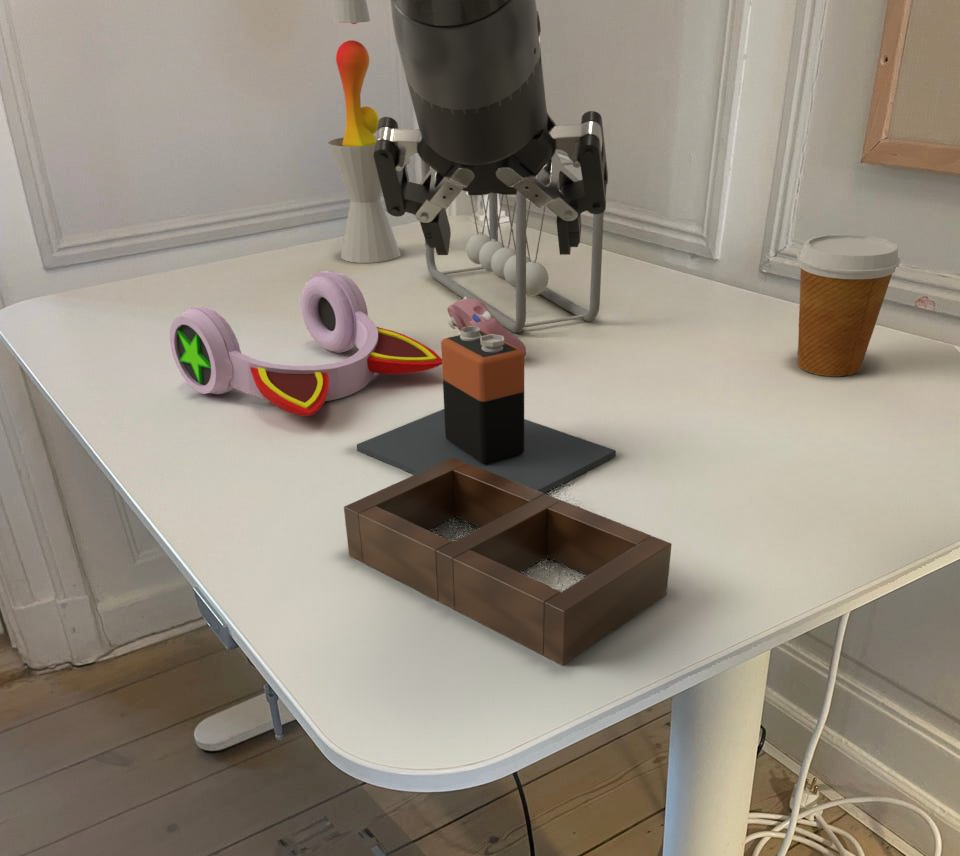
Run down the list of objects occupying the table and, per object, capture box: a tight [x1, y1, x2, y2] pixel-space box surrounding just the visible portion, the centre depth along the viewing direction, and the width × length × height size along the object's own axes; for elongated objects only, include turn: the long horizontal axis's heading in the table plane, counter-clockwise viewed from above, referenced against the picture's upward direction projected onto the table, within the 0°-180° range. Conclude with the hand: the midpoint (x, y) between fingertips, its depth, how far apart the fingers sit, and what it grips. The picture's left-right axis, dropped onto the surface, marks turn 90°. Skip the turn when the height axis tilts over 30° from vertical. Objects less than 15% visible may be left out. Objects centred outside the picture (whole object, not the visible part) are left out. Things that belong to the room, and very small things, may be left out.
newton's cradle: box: [420, 150, 605, 334], centre depth 120 cm, size 30×10×18 cm, turn 23°
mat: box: [356, 408, 617, 494], centre depth 87 cm, size 18×14×1 cm
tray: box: [343, 458, 673, 666], centre depth 69 cm, size 20×11×4 cm, turn 46°
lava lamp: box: [327, 0, 401, 264], centre depth 135 cm, size 9×9×35 cm
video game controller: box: [446, 296, 527, 359], centre depth 107 cm, size 10×5×7 cm, turn 23°
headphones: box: [169, 270, 442, 417], centre depth 100 cm, size 20×10×20 cm
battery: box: [440, 326, 525, 464], centre depth 84 cm, size 4×7×10 cm, turn 31°
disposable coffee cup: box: [796, 233, 901, 377], centre depth 100 cm, size 10×10×12 cm
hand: (505, 244), depth 69 cm, fingers open, 8 cm apart
